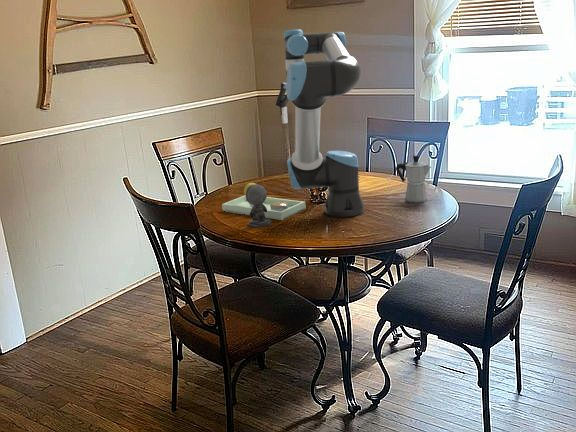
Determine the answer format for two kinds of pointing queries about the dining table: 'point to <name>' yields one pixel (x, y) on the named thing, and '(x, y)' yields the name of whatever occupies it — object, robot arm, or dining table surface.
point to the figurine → (257, 206)
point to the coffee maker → (414, 180)
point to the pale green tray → (243, 206)
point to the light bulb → (246, 190)
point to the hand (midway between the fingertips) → (298, 123)
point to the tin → (279, 206)
